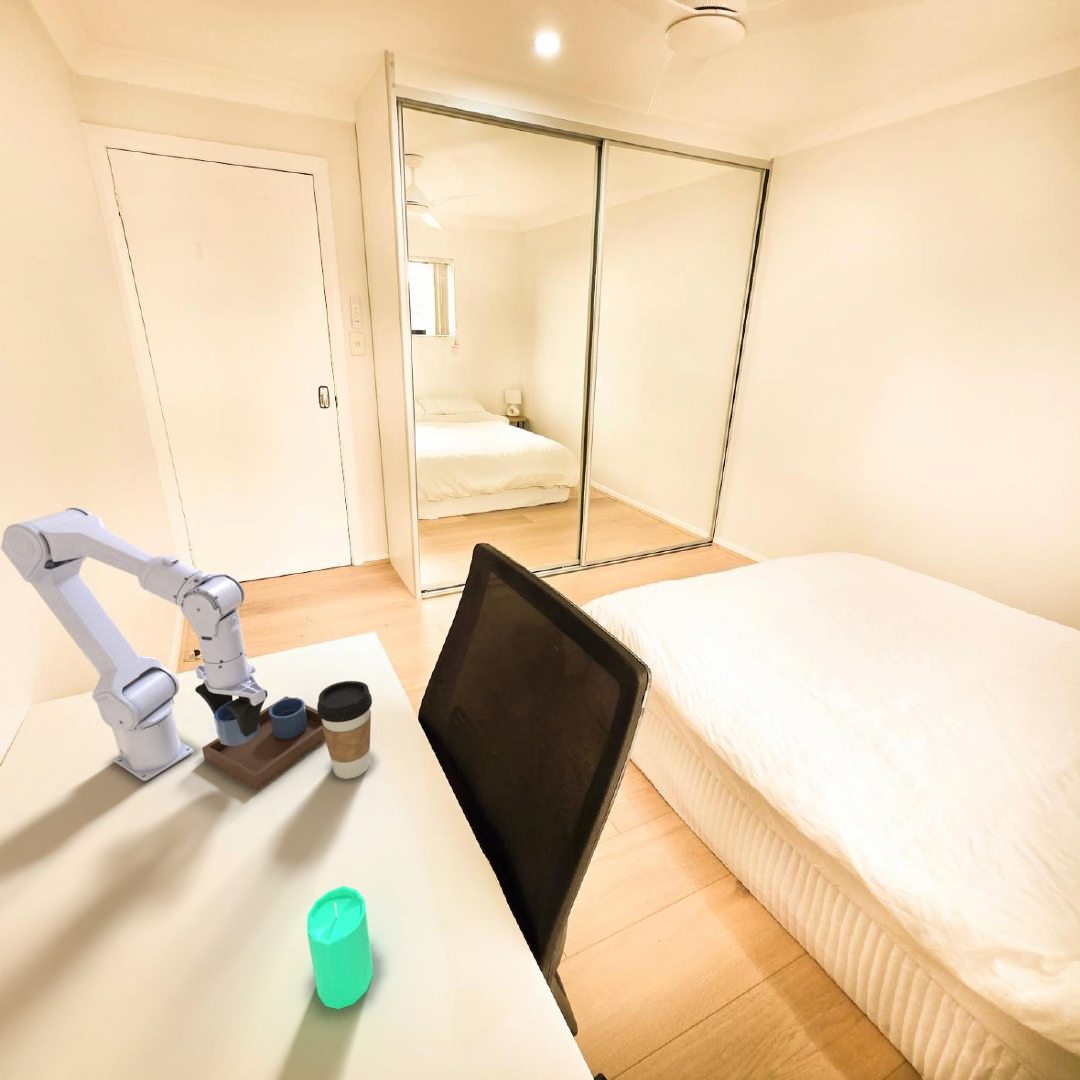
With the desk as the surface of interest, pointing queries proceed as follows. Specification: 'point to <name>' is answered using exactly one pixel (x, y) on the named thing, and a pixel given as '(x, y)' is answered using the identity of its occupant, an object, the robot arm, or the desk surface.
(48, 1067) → the desk surface
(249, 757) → the tray
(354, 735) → the coffee cup
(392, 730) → the desk surface
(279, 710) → the rice bowl
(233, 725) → the rice bowl
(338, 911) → the candle
